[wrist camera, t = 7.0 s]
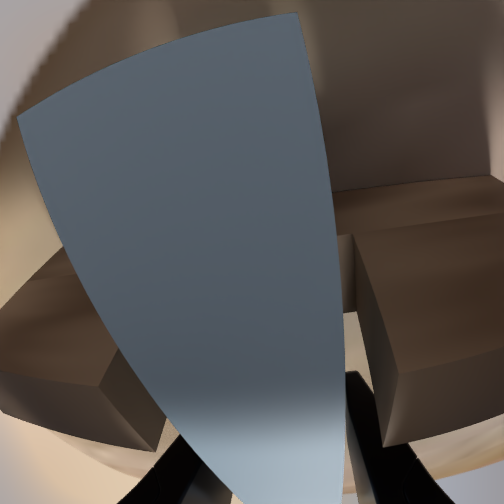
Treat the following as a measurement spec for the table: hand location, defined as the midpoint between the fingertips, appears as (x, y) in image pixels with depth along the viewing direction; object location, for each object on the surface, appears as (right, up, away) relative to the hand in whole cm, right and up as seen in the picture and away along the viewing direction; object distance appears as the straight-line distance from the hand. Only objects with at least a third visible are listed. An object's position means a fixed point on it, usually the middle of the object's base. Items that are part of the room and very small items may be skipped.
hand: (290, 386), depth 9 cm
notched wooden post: (-1, +4, +1) cm, 4 cm away
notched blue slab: (0, +4, +1) cm, 4 cm away
